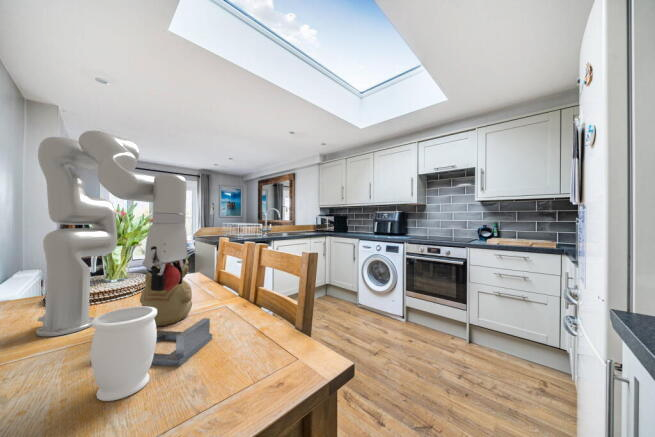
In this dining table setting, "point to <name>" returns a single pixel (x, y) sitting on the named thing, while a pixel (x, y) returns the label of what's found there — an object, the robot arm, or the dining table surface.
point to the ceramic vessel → (168, 300)
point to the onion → (171, 276)
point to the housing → (183, 343)
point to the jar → (123, 351)
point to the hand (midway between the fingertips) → (167, 286)
